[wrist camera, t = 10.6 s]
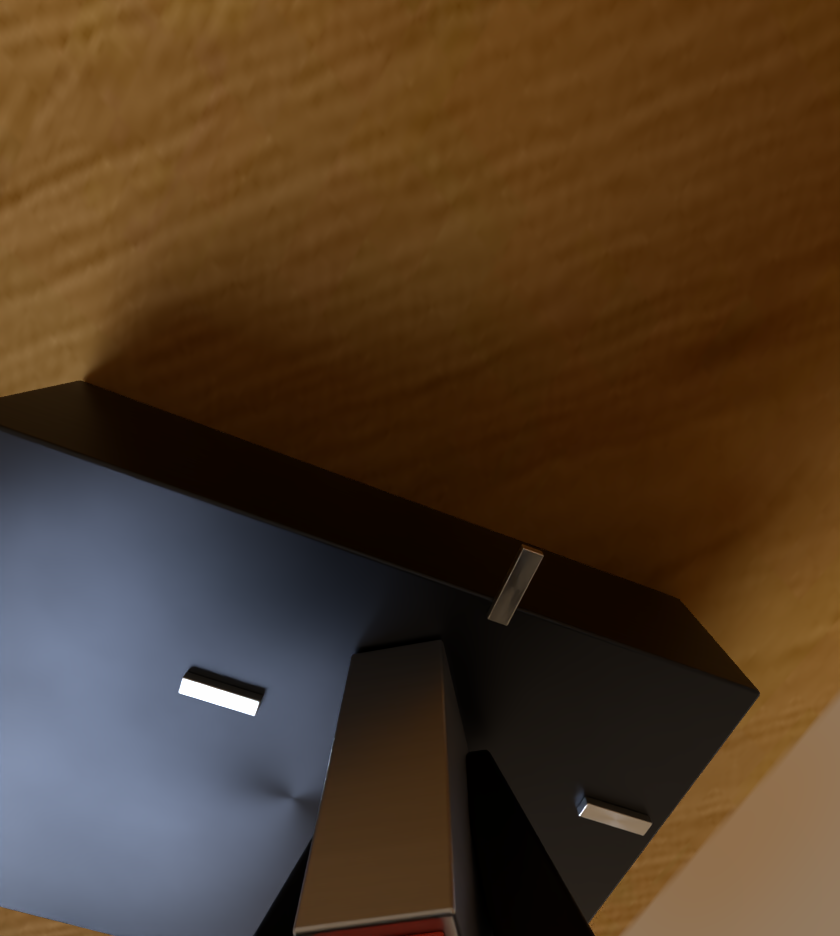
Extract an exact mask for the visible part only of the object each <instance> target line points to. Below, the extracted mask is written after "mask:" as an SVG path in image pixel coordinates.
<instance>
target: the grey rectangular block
mask: <svg viewBox="0 0 840 936" xmlns="http://www.w3.org/2000/svg"><path fill="white" fill-rule="evenodd" d="M468 752H469V750H468V746H467V742H466V738H465V733H464V729H463V725H462V721H461V716H460V712H459V708H458V704H457V699H456V695H455V691H454V687H453V682H452V678H451V674H450V670H449V665H448V661H447V657H446V653H445V648H444V644H443V642H442V640H433V641H427V642H422V643H416V644H410V645H404V646H398V647H392V648H386V649H381V650H375V651H369V652H363V653H357V654H353V655H352V656H351V661H350V665H349V670H348V675H347V679H346V684H345V689H344V693H343V698H342V703H341V707H340V712H339V717H338V721H337V726H336V731H335V735H334V740H333V745H332V749H331V754H330V759H329V763H328V768H327V773H326V777H325V782H324V787H323V791H322V796H321V801H320V805H319V810H318V814H317V819H316V824H315V828H314V833H313V838H312V842H311V847H310V852H309V856H308V861H307V866H306V870H305V875H304V880H303V884H302V889H301V894H300V898H299V903H298V908H297V912H296V917H295V922H294V926H293V936H494V935H493V930H492V926H491V921H490V917H489V912H488V908H487V903H486V898H485V894H484V889H483V885H482V880H481V875H480V871H479V866H478V862H477V857H476V853H475V848H474V843H473V839H472V833H471V828H470V818H469V803H468V786H467V769H466V754H467V753H468Z"/></svg>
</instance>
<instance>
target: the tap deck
mask: <svg viewBox="0 0 840 936" xmlns="http://www.w3.org/2000/svg"><path fill="white" fill-rule="evenodd" d="M433 640H442V642H443V644H444V648H445V653H446V657H447V661H448V665H449V670H450V674H451V678H452V682H453V687H454V691H455V695H456V699H457V704H458V708H459V712H460V716H461V721H462V725H463V729H464V733H465V738H466V742H467V746H468V750H469V752H473V751H479V750H488V751H489V752H490V753H491V755H492V757H493V758H494V760H495V762H496V764H497V765H498V767H499V769H500V771H501V772H502V774H503V776H504V778H505V779H506V781H507V783H508V785H509V786H510V788H511V790H512V792H513V793H514V795H515V797H516V799H517V800H518V802H519V804H520V806H521V807H522V809H523V811H524V813H525V814H526V816H527V818H528V820H529V821H530V823H531V825H532V827H533V828H534V830H535V832H536V833H537V835H538V837H539V839H540V840H541V842H542V844H543V846H544V847H545V849H546V851H547V853H548V854H549V856H550V858H551V860H552V861H553V863H554V865H555V867H556V868H557V870H558V872H559V874H560V875H561V877H562V879H563V881H564V882H565V884H566V886H567V888H568V889H569V891H570V893H571V895H572V896H573V898H574V900H575V902H576V903H577V905H578V907H579V909H580V910H581V912H582V914H583V916H584V917H585V919H586V921H587V923H589V922H590V921H591V919H592V918H593V917H594V915H595V914H596V913H597V911H598V910H599V909H600V907H601V906H602V905H603V903H604V902H605V901H606V899H607V898H608V897H609V895H610V894H611V893H612V891H613V890H614V889H615V887H616V886H617V885H618V883H619V882H620V881H621V879H622V878H623V877H624V875H625V874H626V873H627V871H628V870H629V869H630V867H631V866H632V865H633V863H634V862H635V861H636V859H637V858H638V857H639V855H640V854H641V853H642V851H643V850H644V849H645V847H646V846H647V845H648V843H649V842H650V841H651V839H652V838H653V837H654V835H655V834H656V833H657V831H658V830H659V829H660V827H661V826H662V825H663V823H664V822H665V821H666V819H667V818H668V817H669V815H670V814H671V813H672V811H673V810H674V809H675V807H676V806H677V805H678V803H679V802H680V801H681V799H682V798H683V797H684V795H685V794H686V793H687V791H688V790H689V789H690V787H691V786H692V785H693V783H694V782H695V781H696V779H697V778H698V777H699V775H700V774H701V773H702V771H703V770H704V769H705V767H706V766H707V765H708V763H709V762H710V761H711V759H712V758H713V757H714V755H715V754H716V753H717V751H718V750H719V749H720V747H721V746H722V745H723V743H724V742H725V741H726V739H727V738H728V737H729V735H730V734H731V733H732V731H733V730H734V729H735V727H736V726H737V725H738V723H739V722H740V721H741V719H742V718H743V717H744V715H745V714H746V713H747V711H748V710H749V709H750V708H751V706H752V705H753V704H754V702H755V701H756V700H757V698H758V697H759V695H760V692H759V691H758V689H757V688H756V687H755V686H754V685H753V684H752V682H751V681H750V680H749V679H748V678H747V677H746V676H745V674H744V673H743V672H742V671H741V670H740V669H739V667H738V666H737V665H736V664H735V663H734V662H733V660H732V659H731V658H730V657H729V656H728V655H727V654H726V652H725V651H724V650H723V649H722V648H721V647H720V645H719V644H718V643H717V642H716V641H715V640H714V639H713V637H712V636H711V635H710V634H709V633H708V632H707V630H706V629H705V628H704V627H703V626H702V625H701V624H700V622H699V621H698V620H697V619H696V618H695V617H694V615H693V614H692V613H691V612H690V611H689V610H688V608H687V607H686V606H685V605H684V604H683V603H682V602H681V600H680V599H678V598H675V597H672V596H669V595H667V594H664V593H661V592H658V591H656V590H653V589H650V588H647V587H645V586H642V585H639V584H637V583H634V582H631V581H628V580H626V579H623V578H620V577H617V576H615V575H612V574H609V573H606V572H604V571H601V570H598V569H595V568H593V567H590V566H587V565H584V564H582V563H579V562H576V561H574V560H571V559H568V558H565V557H563V556H560V555H557V554H554V553H552V552H549V551H546V550H543V549H541V548H538V547H535V546H532V545H530V544H527V543H524V542H522V541H519V540H516V539H513V538H511V537H508V536H505V535H502V534H500V533H497V532H494V531H491V530H489V529H486V528H483V527H480V526H478V525H475V524H472V523H469V522H467V521H464V520H461V519H459V518H456V517H453V516H450V515H448V514H445V513H442V512H439V511H437V510H434V509H431V508H428V507H426V506H423V505H420V504H417V503H415V502H412V501H409V500H407V499H404V498H401V497H398V496H396V495H393V494H390V493H387V492H385V491H382V490H379V489H376V488H374V487H371V486H368V485H365V484H363V483H360V482H357V481H355V480H352V479H349V478H346V477H344V476H341V475H338V474H335V473H333V472H330V471H327V470H324V469H322V468H319V467H316V466H313V465H311V464H308V463H305V462H302V461H300V460H297V459H294V458H292V457H289V456H286V455H283V454H281V453H278V452H275V451H272V450H270V449H267V448H264V447H261V446H259V445H256V444H253V443H250V442H248V441H245V440H242V439H240V438H237V437H234V436H231V435H229V434H226V433H223V432H220V431H218V430H215V429H212V428H209V427H207V426H204V425H201V424H198V423H196V422H193V421H190V420H187V419H185V418H182V417H179V416H177V415H174V414H171V413H168V412H166V411H163V410H160V409H157V408H155V407H152V406H149V405H146V404H144V403H141V402H138V401H135V400H133V399H130V398H127V397H125V396H122V395H119V394H116V393H114V392H111V391H108V390H105V389H103V388H100V387H97V386H94V385H92V384H89V383H86V382H83V381H75V382H70V383H65V384H61V385H56V386H51V387H47V388H42V389H37V390H32V391H28V392H23V393H18V394H14V395H9V396H4V397H0V907H4V908H7V909H11V910H15V911H19V912H23V913H27V914H31V915H35V916H39V917H43V918H47V919H51V920H55V921H59V922H63V923H67V924H71V925H75V926H78V927H82V928H86V929H90V930H94V931H98V932H102V933H106V934H110V935H114V936H253V935H254V933H255V932H256V930H257V928H258V927H259V925H260V923H261V922H262V920H263V918H264V917H265V915H266V913H267V912H268V910H269V908H270V907H271V905H272V903H273V902H274V900H275V898H276V897H277V895H278V893H279V891H280V890H281V888H282V886H283V885H284V883H285V881H286V880H287V878H288V876H289V875H290V873H291V871H292V870H293V868H294V866H295V865H296V863H297V861H298V860H299V858H300V856H301V855H302V853H303V851H304V850H305V848H306V846H307V845H308V843H309V841H310V840H311V838H312V836H313V833H314V828H315V824H316V819H317V814H318V810H319V805H320V801H321V796H322V791H323V787H324V782H325V777H326V773H327V768H328V763H329V759H330V754H331V749H332V745H333V740H334V735H335V731H336V726H337V721H338V717H339V712H340V707H341V703H342V698H343V693H344V689H345V684H346V679H347V675H348V670H349V665H350V661H351V656H352V655H353V654H357V653H363V652H369V651H375V650H381V649H386V648H392V647H398V646H404V645H410V644H416V643H422V642H427V641H433Z"/></svg>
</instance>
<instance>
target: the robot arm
mask: <svg viewBox="0 0 840 936" xmlns="http://www.w3.org/2000/svg"><path fill="white" fill-rule="evenodd" d="M466 769H467V786H468V803H469V818H470V828H471V833H472V839H473V843H474V848H475V853H476V857H477V862H478V866H479V871H480V875H481V880H482V885H483V889H484V894H485V898H486V903H487V908H488V912H489V917H490V921H491V926H492V930H493V935H494V936H595V935H594V933H593V931H592V930H591V928H590V926H589V924H588V923H587V921H586V919H585V917H584V916H583V914H582V912H581V910H580V909H579V907H578V905H577V903H576V902H575V900H574V898H573V896H572V895H571V893H570V891H569V889H568V888H567V886H566V884H565V882H564V881H563V879H562V877H561V875H560V874H559V872H558V870H557V868H556V867H555V865H554V863H553V861H552V860H551V858H550V856H549V854H548V853H547V851H546V849H545V847H544V846H543V844H542V842H541V840H540V839H539V837H538V835H537V833H536V832H535V830H534V828H533V827H532V825H531V823H530V821H529V820H528V818H527V816H526V814H525V813H524V811H523V809H522V807H521V806H520V804H519V802H518V800H517V799H516V797H515V795H514V793H513V792H512V790H511V788H510V786H509V785H508V783H507V781H506V779H505V778H504V776H503V774H502V772H501V771H500V769H499V767H498V765H497V764H496V762H495V760H494V758H493V757H492V755H491V753H490V752H489V751H488V750H479V751H473V752H468V753H467V754H466ZM312 838H313V836H312ZM312 838H311V840H310V841H309V843H308V845H307V846H306V848H305V850H304V851H303V853H302V855H301V856H300V858H299V860H298V861H297V863H296V865H295V866H294V868H293V870H292V871H291V873H290V875H289V876H288V878H287V880H286V881H285V883H284V885H283V886H282V888H281V890H280V891H279V893H278V895H277V897H276V898H275V900H274V902H273V903H272V905H271V907H270V908H269V910H268V912H267V913H266V915H265V917H264V918H263V920H262V922H261V923H260V925H259V927H258V928H257V930H256V932H255V933H254V935H253V936H293V926H294V922H295V917H296V912H297V908H298V903H299V898H300V894H301V889H302V884H303V880H304V875H305V870H306V866H307V861H308V856H309V852H310V847H311V842H312Z"/></svg>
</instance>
